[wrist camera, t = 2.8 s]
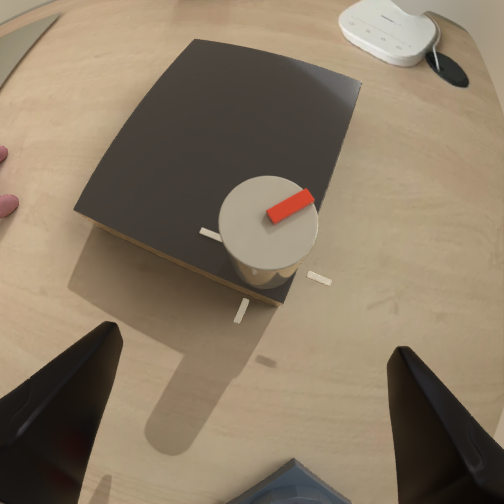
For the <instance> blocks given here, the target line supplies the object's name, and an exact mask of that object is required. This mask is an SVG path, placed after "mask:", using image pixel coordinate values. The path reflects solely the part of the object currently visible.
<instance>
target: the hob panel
mask: <svg viewBox="0 0 504 504" xmlns="http://www.w3.org/2000/svg"><path fill="white" fill-rule="evenodd" d="M361 85H362V82H360V81H358V80H355V79H352V78H350V77H347V76H345V75H342V74H339V73H336V72H334V71H331V70H328V69H325V68H322V67H319V66H316V65H313V64H309V63H306V62H303V61H300V60H296V59H293V58H289V57H285V56H282V55H278V54H274V53H270V52H266V51H261V50H257V49H252V48H248V47H243V46H237V45H232V44H226V43H220V42H214V41H207V40H200V39H194V40H193V41H192V42H191V43H190V44H189V45H188V46H187V47H186V49H185V50H184V51H183V52H182V53H181V54H180V55H179V56H178V57H177V58H176V59H175V61H174V62H173V63H172V64H171V65H170V66H169V67H168V69H167V70H166V71H165V72H164V73H163V75H162V76H161V77H160V78H159V79H158V81H157V82H156V83H155V84H154V85H153V87H152V88H151V89H150V91H149V92H148V93H147V94H146V96H145V97H144V98H143V100H142V101H141V102H140V103H139V105H138V106H137V107H136V109H135V110H134V112H133V113H132V114H131V116H130V117H129V118H128V120H127V121H126V123H125V124H124V126H123V127H122V128H121V130H120V131H119V133H118V134H117V136H116V137H115V139H114V140H113V142H112V143H111V145H110V147H109V148H108V150H107V151H106V153H105V154H104V156H103V158H102V159H101V161H100V162H99V164H98V166H97V167H96V169H95V171H94V173H93V174H92V176H91V178H90V179H89V181H88V183H87V185H86V187H85V188H84V190H83V192H82V194H81V196H80V198H79V199H78V201H77V203H76V205H75V207H74V209H73V210H74V211H75V212H77V213H78V214H80V215H81V216H83V217H84V218H86V219H87V220H89V221H90V222H92V223H93V224H95V225H96V226H98V227H99V228H101V229H104V230H106V231H108V232H110V233H112V234H114V235H116V236H118V237H120V238H122V239H124V240H126V241H128V242H131V243H133V244H135V245H137V246H139V247H141V248H143V249H145V250H148V251H150V252H152V253H154V254H156V255H158V256H161V257H163V258H165V259H167V260H169V261H172V262H174V263H176V264H178V265H180V266H183V267H185V268H187V269H189V270H192V271H194V272H196V273H198V274H201V275H203V276H205V277H207V278H210V279H212V280H214V281H217V282H219V283H221V284H224V285H226V286H228V287H231V288H233V289H235V290H238V291H240V292H242V293H245V294H247V295H249V296H252V297H254V298H257V299H259V300H261V301H264V302H266V303H269V304H271V305H274V306H276V307H279V306H280V305H282V304H283V303H284V301H285V299H286V296H287V294H288V291H289V289H290V286H291V284H292V281H293V279H294V276H295V274H296V271H297V269H298V268H297V269H296V271H295V272H294V274H293V275H292V276H291V277H290V279H289V280H288V281H287V282H285V283H284V284H282V285H281V286H279V287H276V288H272V289H257V288H254V287H251V286H249V285H248V284H246V283H245V282H243V281H242V280H241V279H240V278H239V276H238V275H237V274H236V272H235V270H234V268H233V265H232V263H231V261H230V258H229V256H228V254H227V252H226V249H225V247H224V245H223V242H222V240H221V237H220V234H219V228H218V218H219V212H220V209H221V206H222V204H223V202H224V200H225V198H226V197H227V196H228V194H229V193H230V192H231V191H232V190H233V189H234V188H235V187H236V186H238V185H239V184H241V183H242V182H244V181H246V180H249V179H252V178H255V177H260V176H276V177H281V178H284V179H287V180H289V181H291V182H293V183H295V184H297V185H298V186H299V187H301V188H302V189H303V190H304V189H305V188H307V190H308V191H309V192H310V194H311V195H312V197H313V198H314V199H315V201H314V205H315V208H316V211H317V214H318V213H319V211H320V208H321V205H322V202H323V200H324V197H325V194H326V191H327V188H328V186H329V183H330V180H331V177H332V174H333V171H334V168H335V166H336V163H337V160H338V157H339V154H340V151H341V148H342V145H343V142H344V139H345V136H346V133H347V130H348V126H349V123H350V120H351V117H352V114H353V111H354V107H355V104H356V101H357V98H358V94H359V91H360V88H361ZM306 277H307V278H310V279H312V280H314V281H317V282H319V283H322V284H324V285H327V286H330V284H331V282H332V280H330V279H328V278H325V277H323V276H321V275H318V274H316V273H313V272H311V271H308V273H307V276H306ZM249 301H250V300H248V299H246V298H243V300H242V303H241V305H240V307H239V310H238V312H237V314H236V317H235V319H234V321H233V322H235V323H238V324H240V322H241V320H242V318H243V315H244V313H245V311H246V308H247V306H248V304H249Z"/></svg>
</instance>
